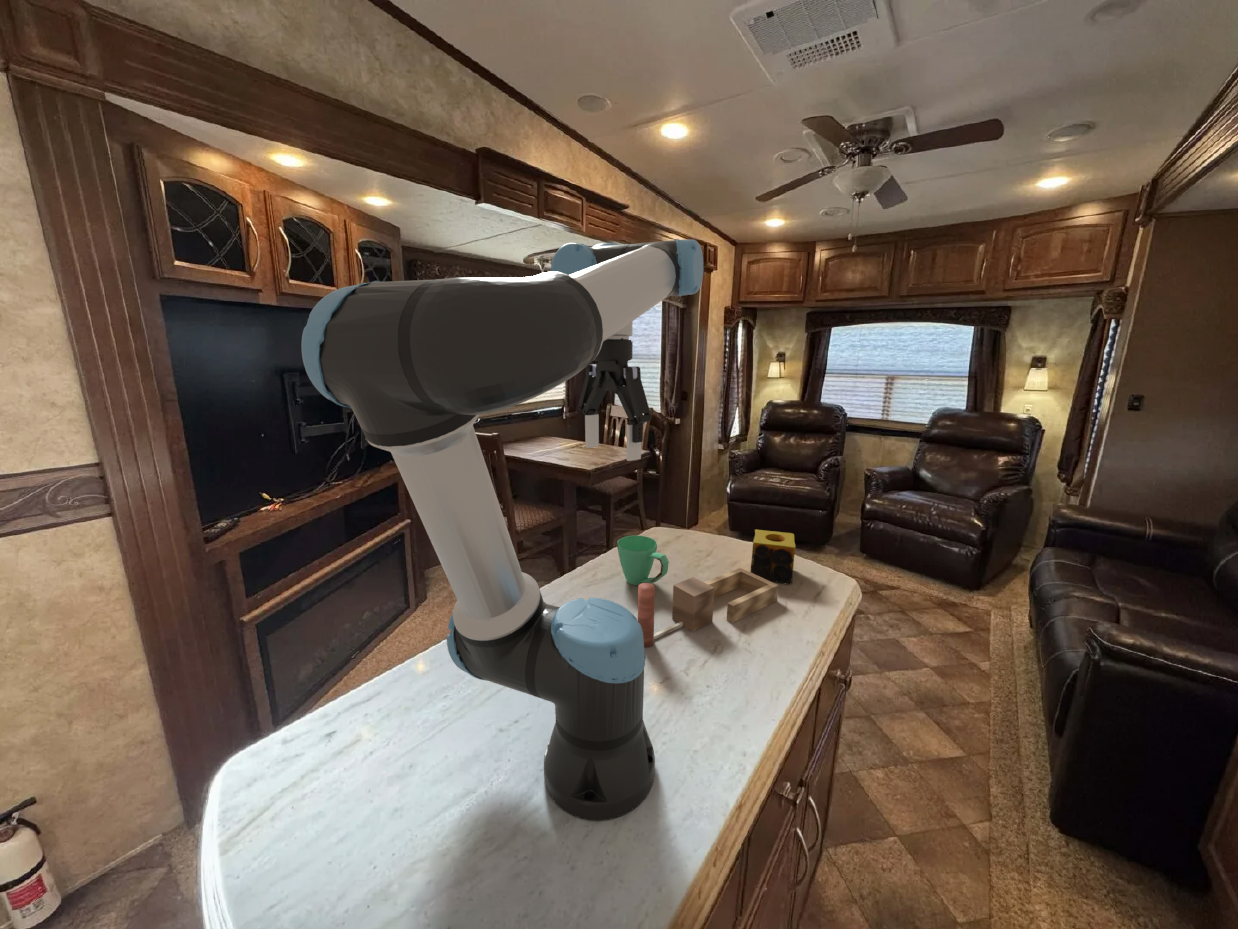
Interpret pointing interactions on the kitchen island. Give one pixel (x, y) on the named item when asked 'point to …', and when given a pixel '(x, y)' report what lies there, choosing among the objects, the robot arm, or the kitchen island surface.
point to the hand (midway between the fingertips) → (611, 453)
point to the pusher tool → (677, 607)
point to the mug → (640, 559)
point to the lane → (749, 603)
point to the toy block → (773, 556)
